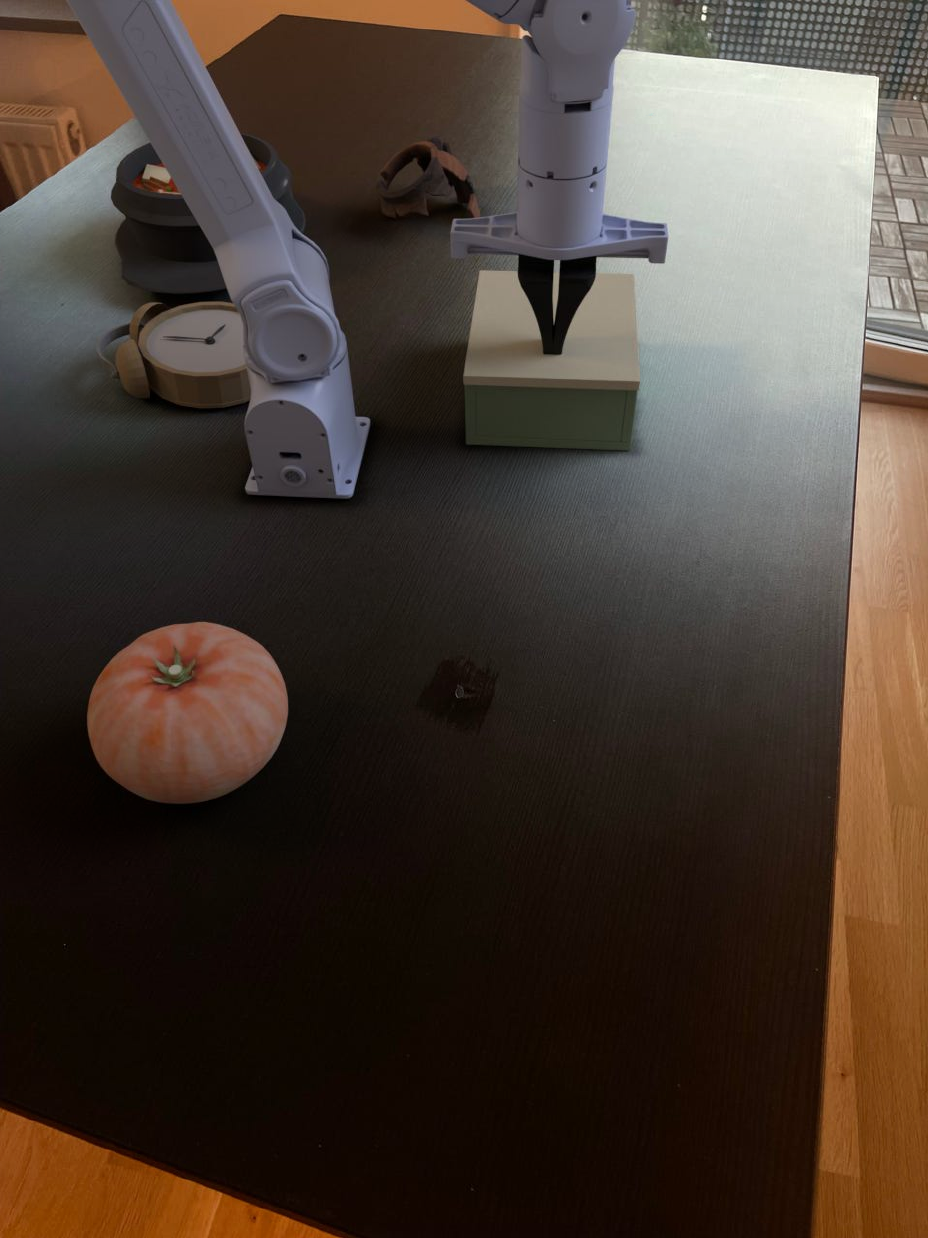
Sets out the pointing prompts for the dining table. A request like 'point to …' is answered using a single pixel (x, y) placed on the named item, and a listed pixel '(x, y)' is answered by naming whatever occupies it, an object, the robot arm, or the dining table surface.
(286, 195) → the casserole
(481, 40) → the dining table surface
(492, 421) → the open box
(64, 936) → the dining table surface
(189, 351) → the alarm clock
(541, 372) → the box lid
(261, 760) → the tomato
